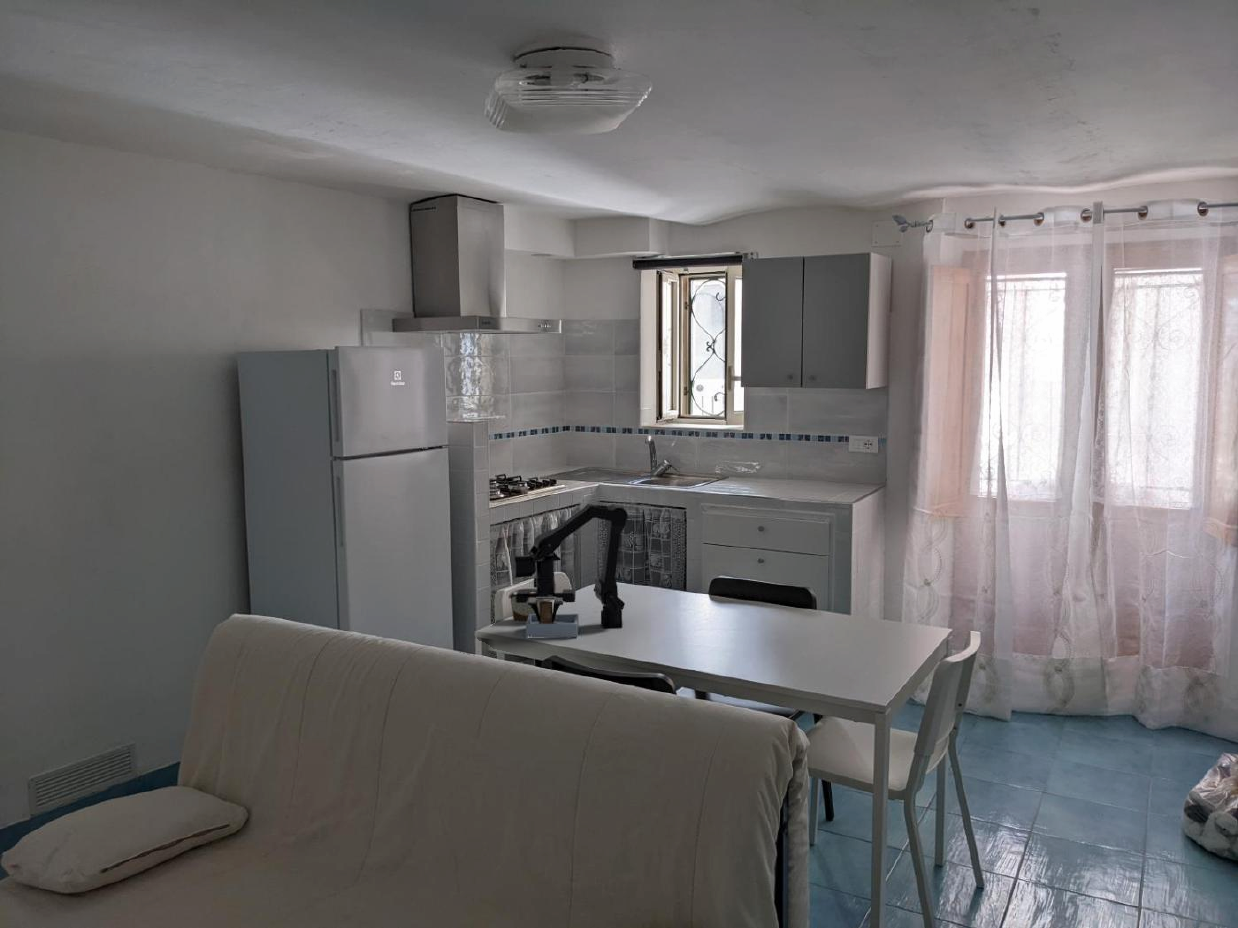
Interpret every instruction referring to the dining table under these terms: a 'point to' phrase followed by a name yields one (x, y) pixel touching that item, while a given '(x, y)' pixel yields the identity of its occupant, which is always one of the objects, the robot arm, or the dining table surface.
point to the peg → (546, 612)
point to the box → (553, 626)
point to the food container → (521, 606)
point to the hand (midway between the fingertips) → (546, 622)
